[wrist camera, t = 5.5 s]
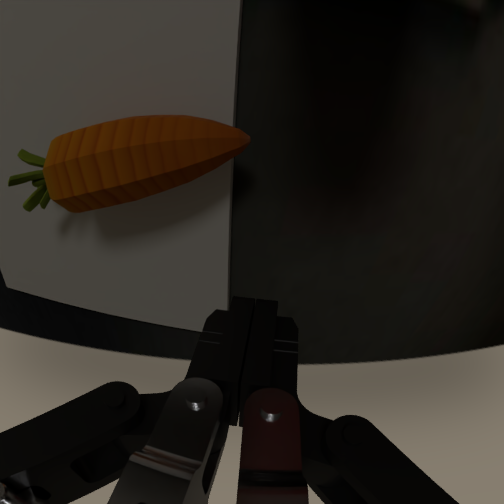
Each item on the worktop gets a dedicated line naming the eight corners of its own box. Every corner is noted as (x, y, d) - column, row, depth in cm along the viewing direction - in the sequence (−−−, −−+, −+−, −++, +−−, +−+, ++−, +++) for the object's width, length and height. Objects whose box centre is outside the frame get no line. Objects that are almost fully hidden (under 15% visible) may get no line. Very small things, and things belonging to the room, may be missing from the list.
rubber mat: (248, -70, 10) (246, -76, 10) (228, 328, 24) (226, 335, 23) (-19, 13, 12) (-25, 13, 12) (11, 282, 26) (7, 286, 25)
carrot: (244, 76, 14) (22, 135, 16) (241, 118, 11) (-17, 183, 13) (255, 153, 18) (52, 188, 20) (256, 211, 15) (24, 239, 16)
